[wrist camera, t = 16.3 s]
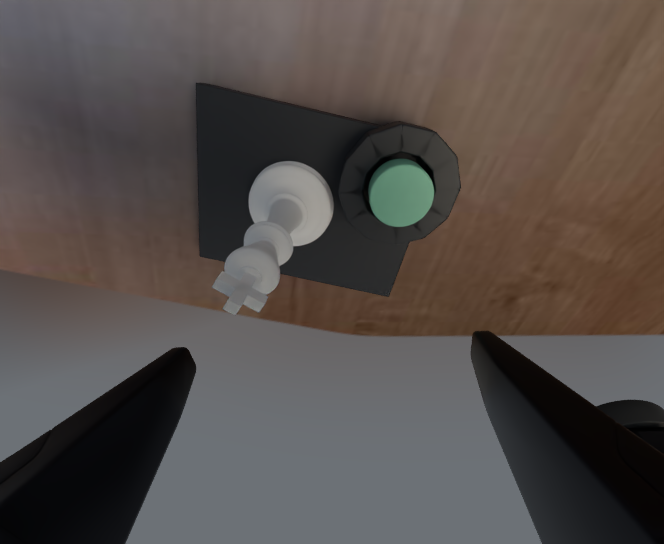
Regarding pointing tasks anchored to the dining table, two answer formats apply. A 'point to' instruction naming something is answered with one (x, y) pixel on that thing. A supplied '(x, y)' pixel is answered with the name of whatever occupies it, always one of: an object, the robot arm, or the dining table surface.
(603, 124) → the dining table surface
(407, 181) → the button
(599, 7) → the dining table surface
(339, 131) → the black button base
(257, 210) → the chess piece
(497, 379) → the robot arm
